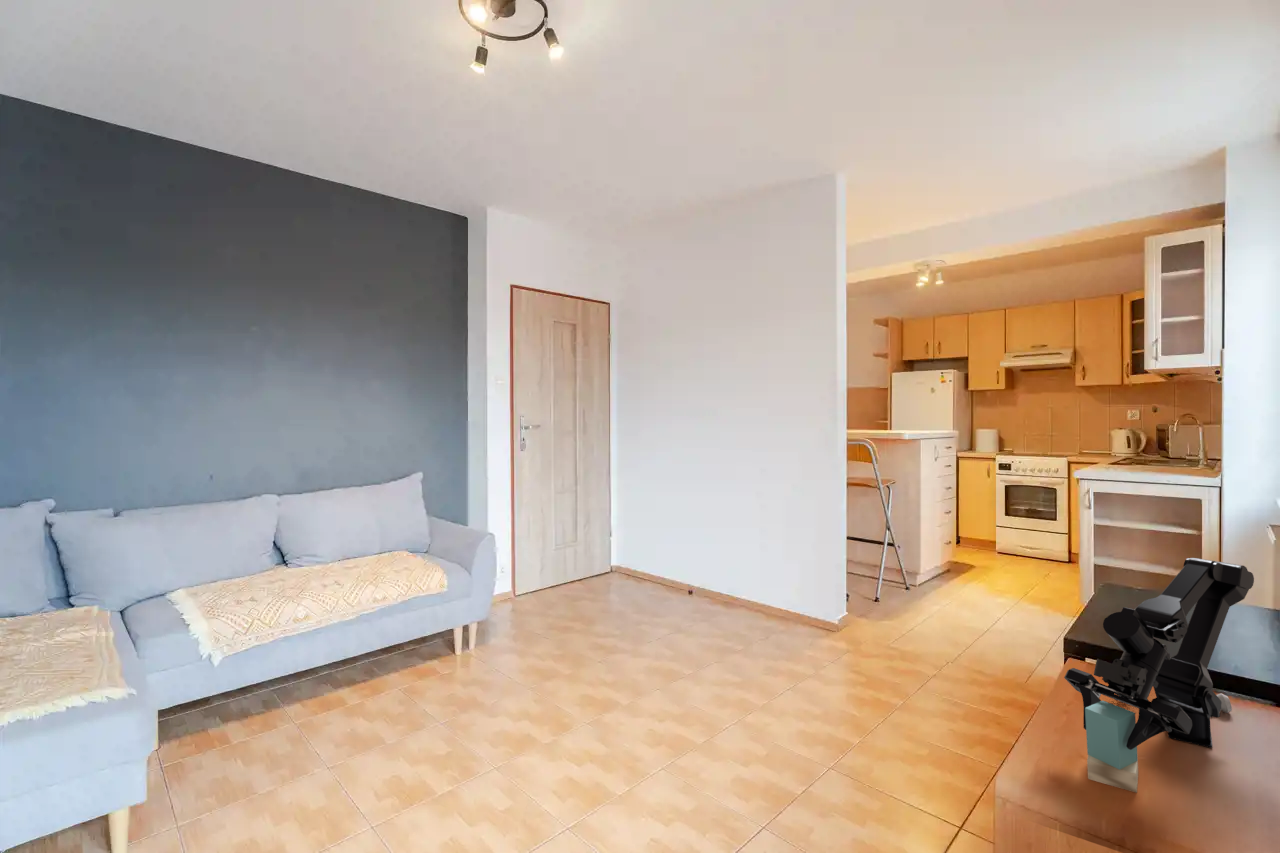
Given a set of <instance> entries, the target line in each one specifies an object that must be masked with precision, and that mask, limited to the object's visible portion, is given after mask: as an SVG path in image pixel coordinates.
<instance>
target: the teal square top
mask: <svg viewBox="0 0 1280 853" xmlns="http://www.w3.org/2000/svg"><path fill="white" fill-rule="evenodd" d="M1085 718H1086V730H1085V733H1086V734H1085V735H1086V750H1087V756H1088V755H1090V756H1092V757H1094V758H1096V759H1098V760H1100V761H1102V762H1105V763H1107V764H1109V765H1111V766H1113V767H1115V768H1117V769H1119V770H1120V769H1122V768H1124V767H1126V766H1128V765H1130V764H1132V763H1134V762H1136V761H1138V757H1139V756H1138V746H1136V747H1135V748H1133V749H1132V750H1130V749H1128V748H1127V747H1126V745H1127V742H1128V739H1129V736H1130V734H1131V732H1132V730H1133V729H1134V727H1135V725H1136V723H1137V721H1136V712H1134V711H1131V710H1129V709H1126V708H1123V707H1121V706H1118V705H1116V704H1113V703H1110V702H1108V701H1105V700H1101V701H1100V702H1098V703H1095V704H1093V705H1091V706H1088V707H1086V708H1085ZM1138 762H1139V761H1138Z"/></svg>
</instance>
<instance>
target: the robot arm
mask: <svg viewBox="0 0 1280 853" xmlns="http://www.w3.org/2000/svg"><path fill="white" fill-rule="evenodd" d="M1254 582H1255V577H1254V574H1253V573H1252V572H1251V571H1249V570H1248V568H1247V567H1246V566H1245V565H1241V564H1236V563H1229V562H1222V561H1218V560H1212V559H1204V558H1203V559H1202V558H1198V557H1190V558H1189V557H1187V558H1185V560H1184V563H1183V567H1182V569H1181V570H1180V571H1179V572H1178V573H1177V574H1176V575H1175V577H1174V578H1173V579H1172V580H1171V582H1170V583H1169V584H1168V585H1167V586H1166V587H1165V589H1164V590H1163V591H1162V592H1161V593H1160V594H1159V595H1158V596H1156V597H1152V598H1149V599H1144V601H1142V602H1141V603H1140V604H1138V606H1136V607H1135V608H1134V609H1133V608H1130V607H1129V608H1128V607H1122V609H1121V611H1117V612H1116V611H1115V612H1114V613H1111V614H1109V615H1108V616H1106V617H1105V618H1104V619H1103V623H1102V627H1103V630H1104V631H1105V633H1106V634H1107V636H1109V638H1111V640H1112V641H1113V642H1114V643H1115V644H1116V646H1117V647H1118V648H1119V649H1120V650H1122V651H1123V653H1122V655H1121V657H1120V658H1117V657H1116V658H1115V659H1114V660H1113V662H1112V663H1111V662H1108V661H1105V660H1102V659H1099V658H1097V659H1096V661H1095V666H1094V671H1093V674H1092V673H1089V672H1086V671H1084V670H1080V669H1078V668H1075V667H1071V668H1069V669H1068V670H1066V673H1065V675H1064V677H1063V678H1064V680H1066V681H1067V682H1068V683H1069V685H1070V686H1072V687H1073V689H1074V690H1075V691H1077V692H1078V693H1080V694H1081V698H1082V705H1083V720H1082V722H1083V724H1082V726H1083V729H1084V730H1085V731H1086V718H1085V708H1086V707H1088V706H1091V705H1093V704H1095V703H1098V702H1100V701H1102V699H1100V697H1101V695H1102V696H1105V697H1108V698H1110V699H1113V700H1115V701H1118V702H1121V703H1124V704H1127V705H1129V706H1131V707H1134V708H1136V709H1138V717H1137V721H1136V725H1135V727H1134V729H1133V730H1132V732H1131V734H1130V736H1129V739H1128V742H1127V745H1126V747H1127V748H1128V749H1130V750H1132V749H1133V748H1135V747H1136V746H1137V747H1138V746H1139V745H1141V744H1144V742H1145V741H1147V740H1149V739H1151V738H1153V737H1156V736H1158V735H1159V734H1161V733H1163V732H1167V733H1168V734H1167V736H1168V738H1169V739H1171V740H1177V741H1181V742H1184V743H1189V744H1193V745H1197V746H1198V745H1199V746H1202V747H1206V748H1211V749H1212V748H1213V739H1212V738H1213V737H1212V732H1211V729H1212V728H1211V718H1220V715H1221V711H1222V710H1221V704H1222V702H1221V700H1220V699H1219V698H1218V697H1217V696H1216V695H1217V694H1216V693H1215V692H1214V691H1213V687H1214V684H1213V681H1212V679H1211V675H1210V674H1209V670H1208V667H1209V664H1210V662H1211V661H1210V660H1211V658H1212V655H1213V653H1214V651H1215V647H1216V645H1217V642H1218V639H1219V638H1220V634H1221V631H1222V628H1223V626H1224V624H1225V621H1226V618H1227V615H1228V612H1229V609H1230V608H1231V607H1232V606H1234V605H1236V604H1238V603H1239V602H1241V601H1243V600H1245V598H1246V596H1247V594H1248V593H1249V591H1250V590H1251V589H1252V588H1253V586H1254ZM1192 609H1193V610H1192ZM1191 610H1192V612H1191V615H1190V619H1189V622H1188V620H1187V616H1188V614H1189V612H1190V611H1191ZM1158 639H1159V640H1162V641H1163V640H1164V641H1166V642H1171V643H1178V642H1180V641H1181V642H1180V644H1179V648H1178V650H1177V653H1176V654H1175V655H1173V656H1171V655H1170V653H1169V651H1168V647H1167V645H1166V644H1164V643H1162V642H1160V641H1159V640H1158ZM1094 676H1095V677H1098V678H1101V679H1102V681H1103V682H1104V683H1105V684H1103V683H1100V682H1099V681H1098V680H1097V678H1095V677H1094ZM1106 684H1107V685H1106ZM1152 689H1153V690H1154V694H1155V698H1152V700H1149V699H1148V698H1149V696H1150V693H1151V691H1152Z"/></svg>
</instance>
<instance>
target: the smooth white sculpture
mask: <svg viewBox="0 0 1280 853" xmlns="http://www.w3.org/2000/svg"><path fill="white" fill-rule="evenodd" d="M1216 696H1217V697H1218V698H1219V699H1220V700H1221V702H1222V704H1221V711H1222V712H1223V713H1225V714H1228V713H1231V712H1232V711H1233V708H1232V703H1231V701H1230V698H1229V697H1228V695H1225V694H1224V693H1218V694H1216Z"/></svg>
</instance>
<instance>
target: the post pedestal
mask: <svg viewBox="0 0 1280 853" xmlns="http://www.w3.org/2000/svg"><path fill="white" fill-rule="evenodd" d="M1086 760H1087V761H1086V762H1087V764H1086V765H1087V766H1086V768H1087V779H1088V780H1091V781H1094V782H1097V783H1100V784H1101V783H1102V784H1105V785H1108V786H1112V787H1115V788H1119V789H1121V790H1126V791H1129V792H1133V793H1136V794H1137V793H1138V784H1139V782H1138V781H1139V761H1136V762H1134V763H1132V764H1130V765H1128V766H1126V767H1124V768H1122V769H1120V770H1119V769H1117V768H1115V767H1113V766H1111V765H1109V764H1107V763H1105V762H1102V761H1100V760H1098V759H1096V758H1094V757H1092V756H1090V755H1088V754H1087V759H1086Z"/></svg>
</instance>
